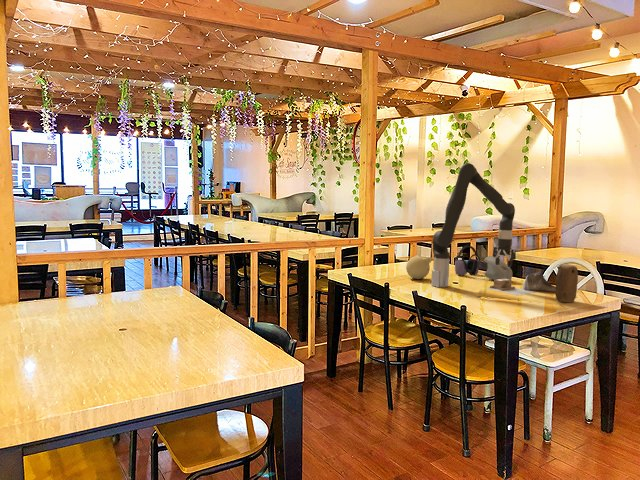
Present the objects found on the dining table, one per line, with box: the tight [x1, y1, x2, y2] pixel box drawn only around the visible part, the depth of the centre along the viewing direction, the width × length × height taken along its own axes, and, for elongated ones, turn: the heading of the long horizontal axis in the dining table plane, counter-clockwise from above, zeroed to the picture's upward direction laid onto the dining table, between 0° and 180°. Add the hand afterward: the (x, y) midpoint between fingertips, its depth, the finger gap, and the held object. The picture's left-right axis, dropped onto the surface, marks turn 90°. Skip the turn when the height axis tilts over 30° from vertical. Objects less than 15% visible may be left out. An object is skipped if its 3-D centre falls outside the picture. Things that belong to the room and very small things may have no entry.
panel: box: [486, 284, 537, 296], centre depth 298 cm, size 16×22×4 cm
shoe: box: [522, 271, 556, 294], centre depth 296 cm, size 25×11×12 cm, turn 56°
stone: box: [554, 263, 579, 303], centre depth 276 cm, size 12×7×20 cm, turn 122°
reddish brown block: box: [493, 279, 512, 290], centre depth 302 cm, size 9×5×5 cm, turn 121°
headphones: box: [454, 245, 481, 277], centre depth 353 cm, size 9×17×20 cm, turn 120°
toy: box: [405, 253, 433, 280], centre depth 336 cm, size 17×15×15 cm
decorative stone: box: [483, 255, 513, 281], centre depth 334 cm, size 12×17×15 cm
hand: (503, 265), depth 301 cm, fingers open, 8 cm apart
